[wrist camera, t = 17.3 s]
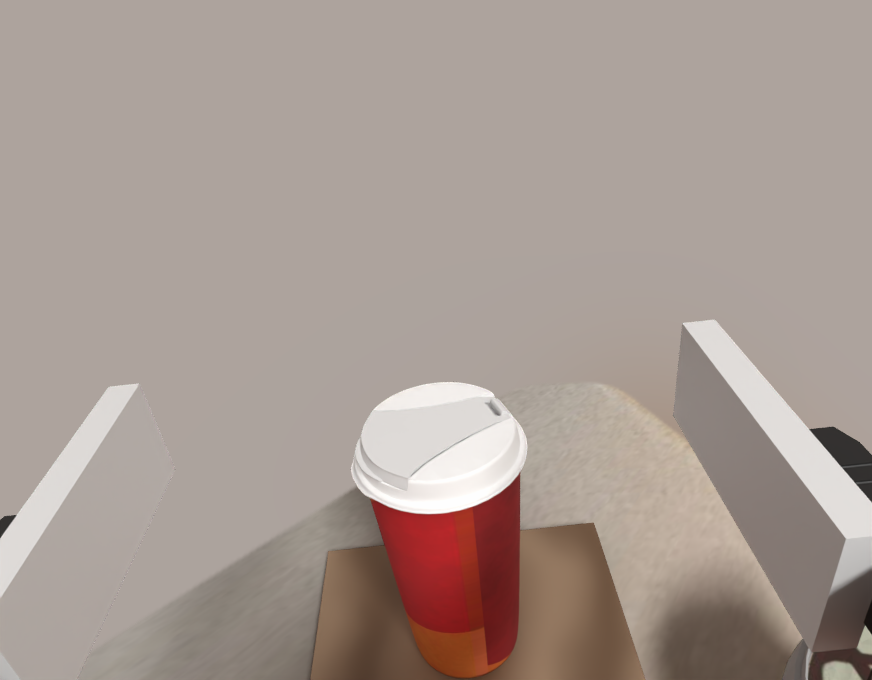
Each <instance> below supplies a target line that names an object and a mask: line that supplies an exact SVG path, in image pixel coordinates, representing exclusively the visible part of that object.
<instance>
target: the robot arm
mask: <svg viewBox="0 0 872 680" xmlns="http://www.w3.org/2000/svg"><path fill="white" fill-rule="evenodd" d="M673 416H674V418H675V420H676V421H677V423H678V425H679V427H680V428H681V430H682V432H683V433H684V435H685V437H686V439H687V440H688V442H689V444H690V445H691V447H692V449H693V451H694V452H695V454H696V456H697V457H698V459H699V461H700V463H701V464H702V466H703V468H704V469H705V471H706V473H707V475H708V476H709V478H710V480H711V481H712V483H713V485H714V487H715V488H716V490H717V492H718V493H719V495H720V497H721V499H722V500H723V502H724V504H725V505H726V507H727V509H728V511H729V512H730V514H731V516H732V517H733V519H734V521H735V523H736V524H737V526H738V528H739V529H740V531H741V533H742V535H743V536H744V538H745V540H746V541H747V543H748V545H749V547H750V548H751V550H752V552H753V553H754V555H755V557H756V559H757V560H758V562H759V564H760V565H761V567H762V569H763V571H764V572H765V574H766V576H767V577H768V579H769V581H770V583H771V584H772V586H773V588H774V589H775V591H776V593H777V595H778V596H779V598H780V600H781V601H782V603H783V605H784V607H785V608H786V610H787V612H788V613H789V615H790V617H791V619H792V620H793V622H794V624H795V625H796V627H797V629H798V631H799V632H800V634H801V636H802V637H803V639H804V641H805V643H806V644H807V646H808V648H809V649H810V651H811V652H821V651H831V650H842V649H852V648H857V646H858V643H859V641H860V638H861V635H862V632H863V630H864V627H865V626H866V627H867V629H868V630H869V632H870V633H871V634H872V455H871V454H870V453H869V452H868V451H867V450H866V449H865V448H864V446H863V445H862V444H861V443H860V442H858V441H857V440H855V439H853V438H851V437H850V436H848V435H846V434H845V433H843V432H841V431H840V430H838V429H836V428H835V427H827V428H816V429H808V428H807V427H806V425H805V424H804V423H803V422H802V421H801V420H800V418H799V417H798V416H797V415H796V414H795V413H794V411H793V410H792V409H791V408H790V407H789V406H788V404H787V403H786V402H785V401H784V400H783V399H782V397H781V396H780V395H779V394H778V393H777V392H776V390H775V389H774V388H773V387H772V386H771V385H770V383H769V382H768V381H767V380H766V379H765V378H764V377H763V375H762V374H761V373H760V372H759V371H758V370H757V368H756V367H755V366H754V365H753V364H752V362H751V361H750V360H749V359H748V358H747V357H746V356H745V354H744V353H743V352H742V351H741V350H740V348H739V347H738V346H737V345H736V344H735V343H734V341H733V340H732V339H731V338H730V337H729V336H728V335H727V333H726V332H725V331H724V330H723V329H722V328H721V326H720V325H719V324H718V323H717V322H716V321H715V320H706V321H697V322H688V323H682V331H681V342H680V352H679V361H678V372H677V382H676V392H675V403H674V413H673ZM174 471H175V467H174V465H173V462H172V460H171V458H170V455H169V453H168V450H167V448H166V445H165V443H164V441H163V439H162V436H161V434H160V431H159V429H158V426H157V424H156V422H155V419H154V417H153V414H152V412H151V410H150V407H149V405H148V402H147V400H146V397H145V395H144V393H143V390H142V388H141V386H140V384H130V385H121V386H112V387H108V389H107V390H106V391H105V393H104V394H103V396H102V397H101V399H100V400H99V401H98V403H97V404H96V405H95V407H94V408H93V410H92V411H91V412H90V414H89V415H88V417H87V418H86V419H85V421H84V423H83V424H82V425H81V426H80V428H79V429H78V431H77V432H76V433H75V435H74V436H73V438H72V439H71V440H70V442H69V443H68V445H67V446H66V447H65V449H64V450H63V452H62V453H61V454H60V456H59V457H58V458H57V460H56V462H55V463H54V464H53V465H52V467H51V468H50V470H49V471H48V472H47V474H46V475H45V477H44V478H43V479H42V481H41V482H40V484H39V485H38V486H37V488H36V489H35V491H34V492H33V493H32V495H31V496H30V498H29V499H28V500H27V502H26V503H25V505H24V506H23V507H22V509H21V510H20V512H19V513H18V515H13V516H4V517H3V518H2V519H1V520H0V680H77V679H78V677H79V674H80V672H81V670H82V668H83V666H84V664H85V662H86V659H87V657H88V655H89V653H90V651H91V649H92V646H93V644H94V642H95V640H96V638H97V636H98V634H99V631H100V629H101V627H102V625H103V623H104V621H105V619H106V617H107V614H108V612H109V610H110V608H111V606H112V603H113V601H114V599H115V597H116V595H117V593H118V591H119V589H120V587H121V584H122V582H123V580H124V578H125V576H126V574H127V571H128V569H129V567H130V565H131V563H132V561H133V559H134V557H135V554H136V552H137V550H138V548H139V546H140V544H141V542H142V539H143V537H144V535H145V533H146V531H147V529H148V527H149V524H150V522H151V520H152V518H153V516H154V514H155V512H156V509H157V507H158V505H159V503H160V501H161V499H162V497H163V495H164V492H165V490H166V488H167V486H168V484H169V482H170V480H171V477H172V475H173V473H174ZM867 680H872V669H871V672H870V674H869V677H868V679H867Z"/></svg>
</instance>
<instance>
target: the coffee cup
mask: <svg viewBox="0 0 872 680" xmlns="http://www.w3.org/2000/svg"><path fill="white" fill-rule="evenodd" d="M526 457H527V441H526V436H525V434H524V431H523V429H522V427H521V426H520V425H519V423H518V422H517V421H516V419H515V418H514V417H513V416H512V415H511V413H510V412H509V411H508V410H507V408H506V407H505V406H504V405H503V404H502V402H501V401H500V400H499V399H497V398H495V397H494V395H493V393H491V391H488V390H486V389H484V388H481V387H478V386H475V385H470V384H465V383H456V382H441V383H431V384H425V385H420V386H416V387H413V388H409V389H407V390H404V391H401V392H399V393H397V394H395V395H393V396H391V397H389V398H388V399H386V400H385V401H383V402H382V403H381V404H380V405H378V406H377V407H376V408H375V409H374V410H373V411H372V413H371V414H370V416H369V417H368V419H367V421H366V423H365V425H364V427H363V429H362V433H361V437H360V438H359V440H358V443H357V445H356V450H355V454H354V459H353V463H352V466H351V473H352V476H353V480H354V482H355V483H356V485H357V487H358V488H359V490H360V491H361V492H362V493H363V494H364V495H365V496H367V497H369V498H370V500H371V503H372V506H373V509H374V512H375V516H376V519H377V522H378V525H379V529H380V532H381V535H382V538H383V541H384V545H385V548H386V551H387V554H388V557H389V561H390V564H391V567H392V570H393V573H394V577H395V580H396V583H397V586H398V589H399V592H400V596H401V599H402V602H403V605H404V608H405V611H406V614H407V617H408V620H409V624H410V626H411V629H412V632H413V635H414V638H415V641H416V643H417V646H418V648H419V650H420V652H421V654H422V656H423V657H424V659H425V660H426V661H427V663H428V664H429V665H430V666H432V667H433V668H434V669H435V670H437V671H439V672H440V673H442V674H445V675H447V676H450V677H455V678H475V677H480V676H483V675H486V674H488V673H490V672H492V671H494V670H495V669H497V668H498V667H499V666H501V665H502V664H503V663H504V662H505V661H506V660H507V659H508V657H509V656H510V654H511V653H512V651H513V649H514V646H515V644H516V640H517V635H518V625H519V586H520V471H521V469H522V468H523V466H524V463H525V460H526Z"/></svg>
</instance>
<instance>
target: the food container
mask: <svg viewBox="0 0 872 680" xmlns="http://www.w3.org/2000/svg"><path fill="white" fill-rule="evenodd" d="M871 669H872V634H871V633H870V632H869V630H868V629H867V627H866V626H865V627H864V630H863V632H862V635H861V638H860V641H859V643H858V646H857V648H852V649H842V650H831V651H821V652H811V651H810V649H809V648H808V646H807V644H806V643H805V641H804V639H802V640H801V641H800V643H799V644H798V645H797V647H796V648H795V650H794V652H793V653H792V655H791V657H790V658H789V660H788V662H787V665H786V668H785V671H784V674H783V678H782V680H867V679H868V677H869V674H870V672H871Z"/></svg>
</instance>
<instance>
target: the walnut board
mask: <svg viewBox="0 0 872 680" xmlns="http://www.w3.org/2000/svg"><path fill="white" fill-rule="evenodd" d="M310 680H645V677H644V674H643V671H642V668H641V665H640V662H639V659H638V656H637V653H636V650H635V647H634V644H633V640H632V637H631V634H630V631H629V628H628V625H627V622H626V619H625V616H624V613H623V610H622V607H621V604H620V601H619V598H618V595H617V592H616V589H615V586H614V583H613V580H612V577H611V574H610V571H609V568H608V565H607V562H606V559H605V556H604V553H603V549H602V546H601V543H600V540H599V537H598V534H597V531H596V528H595V525H594V523H586V524H577V525H567V526H558V527H549V528H540V529H530V530H521V531H520V586H519V625H518V635H517V640H516V644H515V646H514V649H513V651H512V653H511V654H510V656H509V657H508V659H507V660H506V661H505V662H504V663H503V664H502V665H501V666H499V667H498V668H497V669H495V670H494V671H492V672H490V673H488V674H486V675H483V676H480V677H475V678H455V677H450V676H447V675H445V674H442V673H440V672H439V671H437V670H435V669H434V668H433V667H432V666H430V665H429V664H428V663H427V661H426V660H425V659H424V657H423V656H422V654H421V652H420V650H419V648H418V646H417V643H416V641H415V638H414V635H413V632H412V629H411V626H410V624H409V620H408V617H407V614H406V611H405V608H404V605H403V602H402V599H401V596H400V592H399V589H398V586H397V583H396V580H395V577H394V573H393V570H392V567H391V564H390V561H389V557H388V554H387V551H386V548H385V545H383V546H373V547H364V548H355V549H346V550H336V551H328V558H327V565H326V572H325V579H324V586H323V593H322V600H321V607H320V614H319V621H318V628H317V635H316V642H315V649H314V656H313V663H312V670H311V677H310Z"/></svg>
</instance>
